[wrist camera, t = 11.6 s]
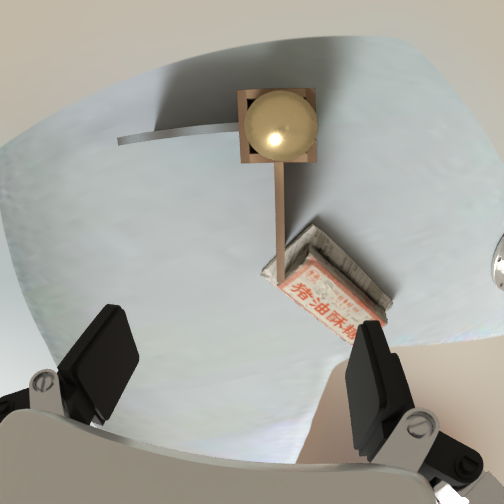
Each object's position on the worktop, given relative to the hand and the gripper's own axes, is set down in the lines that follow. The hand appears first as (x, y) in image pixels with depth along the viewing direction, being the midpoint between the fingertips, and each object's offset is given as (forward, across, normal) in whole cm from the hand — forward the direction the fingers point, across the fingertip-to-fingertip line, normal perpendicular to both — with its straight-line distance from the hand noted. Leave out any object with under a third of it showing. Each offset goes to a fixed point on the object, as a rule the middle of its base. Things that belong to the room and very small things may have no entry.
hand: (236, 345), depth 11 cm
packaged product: (+27, -9, +14) cm, 32 cm away
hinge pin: (+26, -1, -8) cm, 27 cm away
